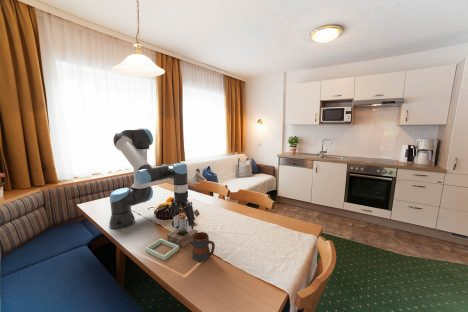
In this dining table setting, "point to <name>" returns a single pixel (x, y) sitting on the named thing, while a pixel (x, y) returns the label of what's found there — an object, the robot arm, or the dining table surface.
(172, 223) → the pipe connector
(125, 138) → the robot arm
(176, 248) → the pale green rectangular frame
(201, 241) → the mug
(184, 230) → the pin
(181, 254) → the dining table surface
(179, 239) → the socket block
